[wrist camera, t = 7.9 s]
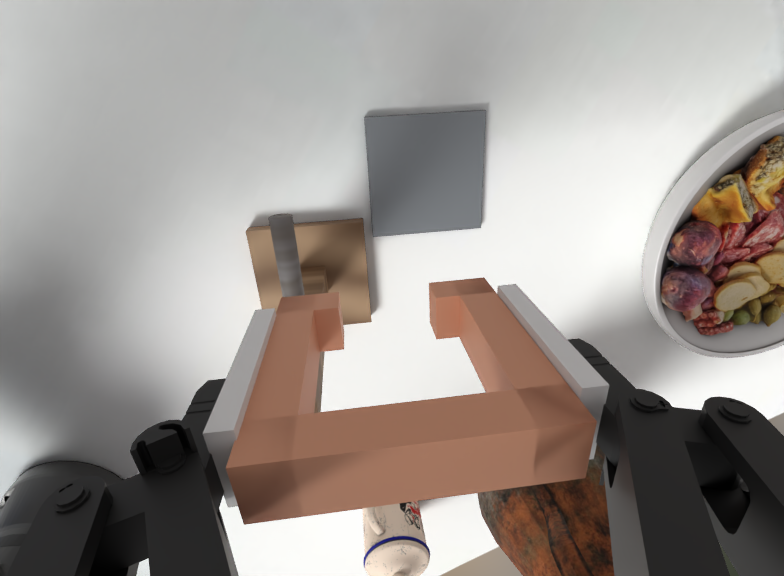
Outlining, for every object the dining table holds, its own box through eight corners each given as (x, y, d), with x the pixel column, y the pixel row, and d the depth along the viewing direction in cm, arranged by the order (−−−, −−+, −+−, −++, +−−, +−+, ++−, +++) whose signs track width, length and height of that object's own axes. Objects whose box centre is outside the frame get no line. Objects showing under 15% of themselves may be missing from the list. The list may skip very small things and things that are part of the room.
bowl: (876, 53, 43) (982, 43, 36) (850, 284, 56) (925, 311, 49) (608, 172, 45) (658, 184, 38) (642, 369, 58) (685, 406, 51)
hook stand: (370, 315, 49) (391, 462, 29) (269, 326, 48) (217, 485, 28) (358, 175, 42) (375, 240, 22) (239, 184, 41) (143, 260, 21)
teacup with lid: (428, 508, 64) (445, 587, 54) (378, 531, 65) (385, 614, 54) (393, 462, 59) (405, 540, 49) (339, 488, 60) (339, 570, 49)
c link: (288, 336, 18) (243, 524, 10) (281, 297, 17) (225, 468, 9) (482, 316, 19) (585, 478, 11) (484, 277, 18) (596, 421, 10)
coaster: (372, 235, 44) (373, 236, 44) (364, 117, 39) (364, 117, 39) (479, 226, 45) (480, 227, 45) (483, 110, 40) (485, 110, 40)
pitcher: (487, 481, 63) (598, 766, 36) (418, 395, 54) (495, 684, 27) (583, 430, 61) (778, 692, 34) (526, 331, 52) (728, 577, 25)
